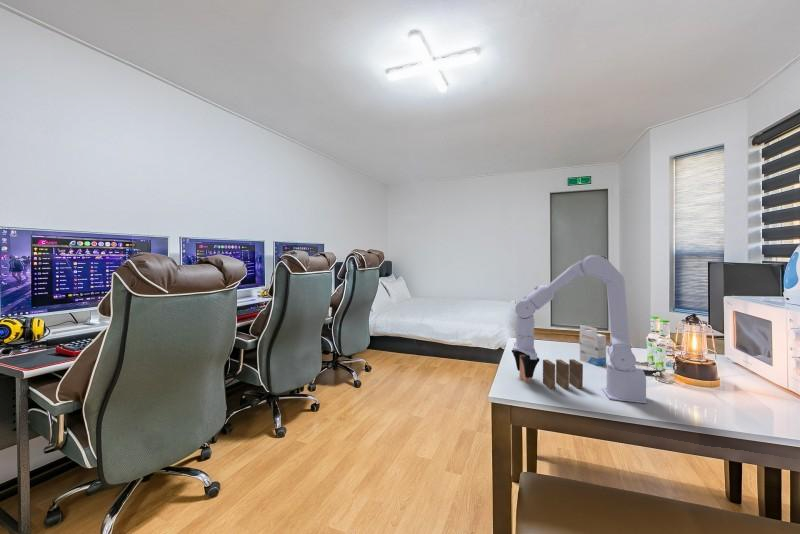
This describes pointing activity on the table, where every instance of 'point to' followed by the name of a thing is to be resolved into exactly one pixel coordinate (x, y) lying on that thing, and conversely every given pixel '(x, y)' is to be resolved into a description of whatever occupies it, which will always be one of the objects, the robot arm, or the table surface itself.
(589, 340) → the ink box
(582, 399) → the table surface
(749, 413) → the table surface
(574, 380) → the walnut domino
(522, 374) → the terracotta domino
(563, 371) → the walnut domino
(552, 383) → the walnut domino
